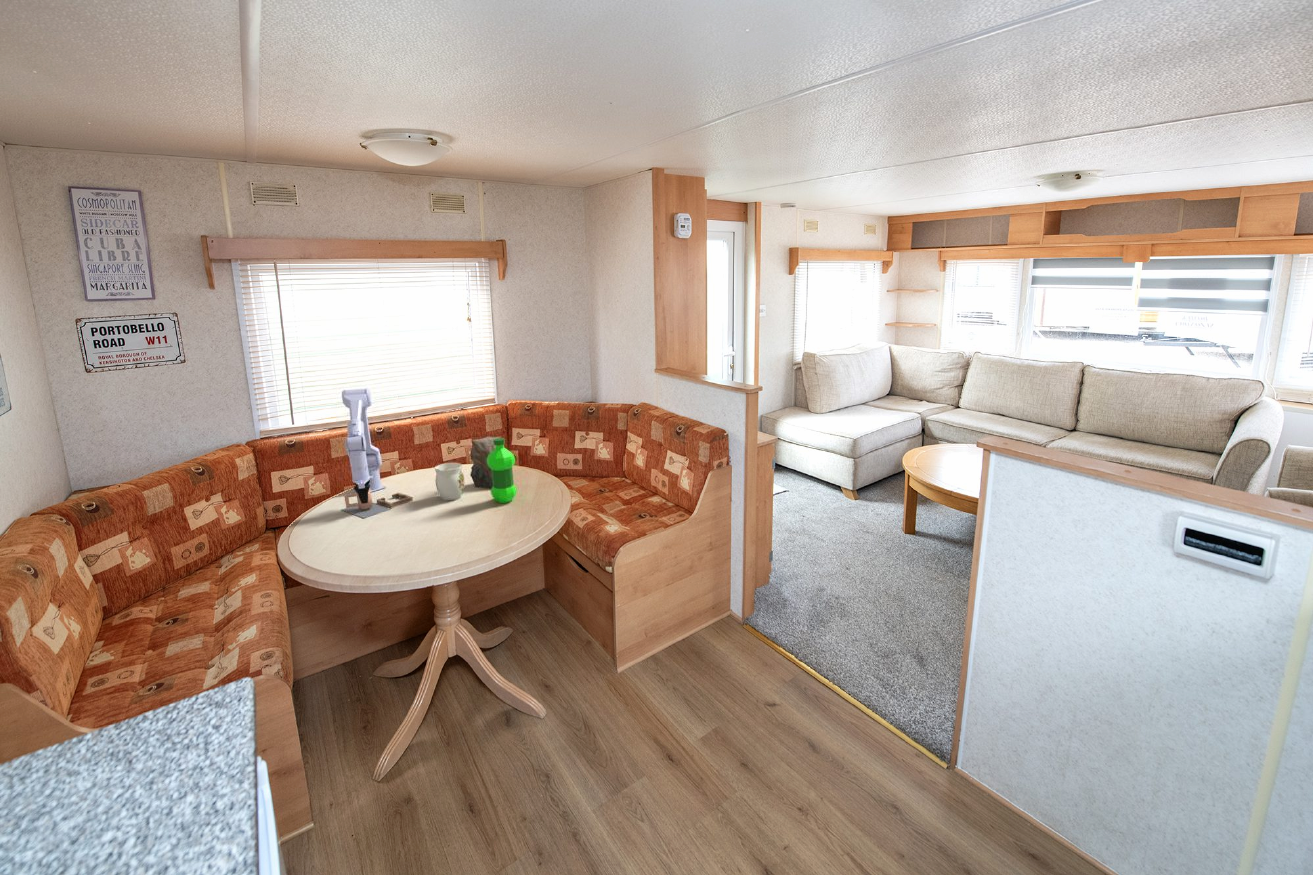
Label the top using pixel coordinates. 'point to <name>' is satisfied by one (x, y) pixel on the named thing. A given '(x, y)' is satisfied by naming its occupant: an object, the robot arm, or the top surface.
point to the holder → (404, 500)
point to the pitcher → (450, 480)
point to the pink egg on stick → (359, 504)
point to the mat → (366, 510)
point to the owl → (482, 462)
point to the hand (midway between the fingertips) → (364, 500)
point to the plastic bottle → (502, 472)
